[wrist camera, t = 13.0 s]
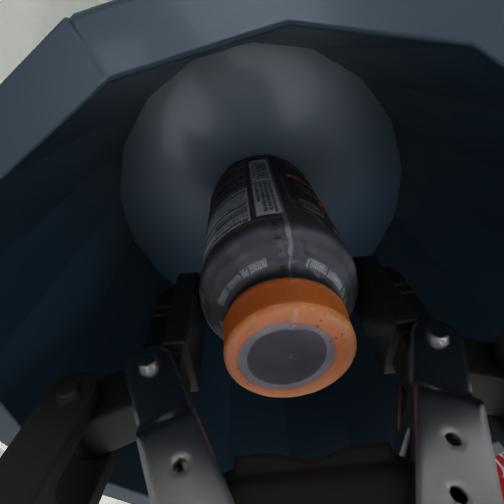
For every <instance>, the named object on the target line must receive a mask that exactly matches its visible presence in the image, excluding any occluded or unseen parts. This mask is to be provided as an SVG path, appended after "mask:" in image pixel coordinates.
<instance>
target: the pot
mask: <svg viewBox="0 0 504 504" xmlns="http://www.w3.org/2000/svg"><path fill="white" fill-rule="evenodd" d="M257 156H271V157H276V158H279V159H282V160H285V161H287V162H289V163H290V164H292V165H293V166H295V167H296V168H298V169H299V170H300V171H301V172H302V173H303V174H304V176H305V177H306V178H307V180H308V182H309V183H310V185H311V187H312V189H313V190H314V192H315V194H316V196H317V197H318V199H319V200H320V202H321V204H322V206H323V207H324V209H325V211H326V213H327V214H328V216H329V218H330V220H331V221H332V223H333V225H334V226H335V228H336V229H337V231H338V233H339V235H340V236H341V238H342V240H343V242H344V243H345V245H346V246H347V248H348V250H349V252H350V254H351V256H352V258H353V257H357V256H367V255H375V256H376V258H377V259H378V261H379V262H380V264H381V265H382V266H383V267H389V266H390V267H391V268H393V269H394V270H396V271H397V272H399V273H400V274H401V275H402V276H403V277H404V279H405V280H406V281H407V283H408V285H410V287H411V288H412V289H413V291H414V293H416V295H417V296H418V298H419V299H420V300H421V302H422V303H423V304H424V306H425V307H426V308H427V310H428V311H429V312H430V314H431V315H432V316H433V318H434V319H435V320H436V321H440V322H443V323H446V324H448V325H450V326H452V327H453V328H454V329H456V330H457V331H458V332H459V333H460V334H461V335H462V337H463V338H467V339H472V340H479V341H486V342H493V343H494V342H495V340H496V338H497V336H498V335H499V334H500V333H502V332H504V0H112V1H109V2H106V3H103V4H100V5H97V6H95V7H92V8H89V9H86V10H83V11H80V12H77V13H74V14H73V15H72V16H71V17H70V18H67V17H66V18H63V19H62V20H61V21H60V23H59V24H58V25H57V26H56V27H55V28H54V29H53V30H52V31H51V32H50V33H49V34H48V35H47V36H46V37H45V38H44V39H43V40H42V41H41V42H40V43H39V44H38V45H37V47H36V48H35V49H34V50H33V51H32V52H31V53H30V54H29V55H28V56H27V57H26V58H25V59H24V60H23V61H22V62H21V63H20V64H19V65H18V66H17V67H16V68H15V69H14V71H13V72H12V73H11V74H10V75H9V76H8V77H7V78H6V79H5V80H4V81H3V82H2V83H1V84H0V441H1V442H2V443H5V445H6V446H9V445H10V443H11V442H12V440H13V439H14V437H15V436H16V435H17V433H18V432H19V430H20V429H21V427H22V426H23V425H24V423H25V422H26V420H27V419H28V417H29V416H30V415H31V413H32V412H33V410H34V409H35V407H36V406H37V405H38V403H39V402H40V400H41V399H42V397H43V396H44V395H45V393H46V392H47V390H48V389H49V388H50V387H51V386H52V385H53V384H54V383H55V382H56V381H58V380H59V379H61V378H62V377H64V376H66V375H68V374H71V373H74V372H79V371H84V372H89V373H91V374H92V375H93V376H94V377H95V379H96V380H97V379H100V378H103V377H105V376H108V375H111V374H114V373H116V372H119V371H121V370H123V369H125V367H126V364H127V362H128V361H129V359H130V358H131V357H132V356H133V355H134V354H136V353H137V352H138V351H140V350H142V347H143V344H144V341H145V337H146V334H147V331H148V327H149V324H150V321H151V318H152V314H153V311H154V309H155V308H154V307H155V304H156V301H157V297H158V296H159V295H160V294H161V293H162V291H163V290H164V289H165V288H168V287H175V284H176V280H177V276H178V274H179V273H188V272H198V273H199V275H200V274H201V267H202V255H203V248H204V243H205V238H206V232H207V225H208V218H209V211H210V204H211V197H212V194H213V190H214V188H215V186H216V184H217V182H218V180H219V179H220V178H221V176H222V175H223V174H224V173H225V172H226V171H227V170H228V169H229V168H230V167H232V166H233V165H234V164H236V163H238V162H240V161H242V160H245V159H248V158H251V157H257ZM349 319H350V322H351V324H352V326H353V328H354V331H355V334H356V340H357V349H356V354H355V357H354V359H353V361H352V363H351V365H350V367H349V368H348V369H347V371H346V372H345V373H344V374H343V375H342V376H341V377H339V378H338V379H337V380H336V381H335V382H333V383H332V384H330V385H328V386H326V387H325V388H323V389H321V390H318V391H316V392H313V393H310V394H306V395H302V396H296V397H284V398H282V397H278V398H277V397H269V396H263V395H260V394H257V393H254V392H252V391H249V390H248V389H246V388H244V387H242V386H241V385H239V384H238V383H237V382H236V381H235V380H234V379H233V378H232V376H231V375H230V374H229V372H228V370H227V368H226V365H225V362H224V356H223V348H224V341H223V339H222V338H220V337H219V336H218V335H217V334H216V333H215V332H214V331H213V329H212V328H211V327H210V326H209V324H208V322H207V321H206V324H205V335H204V345H203V355H202V366H201V376H200V386H199V391H195V392H190V395H189V398H190V400H191V403H193V405H194V407H195V409H196V411H197V414H198V416H199V419H200V421H201V423H202V426H203V428H204V431H205V433H206V435H207V438H208V440H209V443H210V445H211V448H212V450H213V452H214V455H215V457H216V460H217V462H218V464H219V467H220V469H221V472H222V474H223V473H225V472H227V471H229V470H232V469H234V456H242V455H252V454H263V453H276V454H282V455H287V456H293V457H298V458H304V459H310V460H314V459H318V458H320V457H323V456H325V455H328V454H330V453H333V452H335V451H337V450H340V449H342V448H345V447H347V446H350V445H357V444H367V443H378V442H388V441H389V443H390V445H391V448H392V450H394V443H395V426H396V403H397V386H398V382H399V379H398V377H397V375H396V373H389V374H384V373H383V371H382V369H381V366H380V364H379V362H378V360H377V358H376V356H375V353H374V351H373V349H372V347H371V345H370V343H369V340H368V338H367V336H366V334H365V332H364V330H363V328H362V325H361V323H360V321H359V319H358V317H357V315H356V312H355V310H354V309H353V311H352V313H351V315H350V316H349ZM490 435H491V440H492V445H493V450H494V455H495V456H497V455H499V454H501V453H503V452H504V447H503V446H502V445H501V444H500V443H499V441H498V440H497V439H496V438H495V437H494V436H493V434H492V433H491V432H490ZM102 495H105V496H109V497H112V498H115V499H118V500H121V501H124V502H127V503H131V504H150V499H149V495H148V490H147V486H146V481H145V477H144V472H143V468H142V463H141V459H140V454H139V450H138V445H137V441H134V442H132V443H130V444H127V445H125V446H123V447H122V449H121V451H120V454H119V456H118V458H117V461H116V463H115V466H114V468H113V470H112V473H111V475H110V478H109V480H108V482H107V485H106V487H105V490H104V492H103V494H102Z"/></svg>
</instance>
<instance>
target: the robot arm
mask: <svg viewBox="0 0 504 504" xmlns="http://www.w3.org/2000/svg"><path fill="white" fill-rule="evenodd" d="M353 260H354V263H355V266H356V269H357V273H358V296H357V300H356V303H355V306H354V310H355V312H356V315H357V317H358V319H359V321H360V323H361V325H362V328H363V330H364V332H365V334H366V336H367V338H368V340H369V343H370V345H371V347H372V349H373V351H374V353H375V356H376V358H377V360H378V362H379V364H380V366H381V369H382V371H383V373H384V374H389V373H396V375H397V377H398V379H399V382H398V386H397V403H396V426H395V443H394V450H392V448H391V445H390V443H389V441H388V442H378V443H367V444H357V445H350V446H347V447H345V448H342V449H340V450H337V451H335V452H333V453H330V454H328V455H325V456H323V457H320V458H318V459H314V460H310V459H304V458H298V457H293V456H287V455H282V454H276V453H263V454H252V455H242V456H234V469H232V470H229V471H227V472H225V473H223V474H222V472H221V469H220V467H219V464H218V462H217V460H216V457H215V455H214V452H213V450H212V448H211V445H210V443H209V440H208V438H207V435H206V433H205V431H204V428H203V426H202V423H201V421H200V419H199V416H198V414H197V411H196V409H195V407H194V405H193V403H191V400H190V398H189V395H190V392H195V391H199V386H200V376H201V366H202V355H203V345H204V335H205V324H206V318H205V316H204V314H203V311H202V308H201V305H200V299H199V282H200V275H199V273H198V272H188V273H179V274H178V276H177V280H176V284H175V287H168V288H165V289H164V290H163V291H162V293H161V294H160V295H159V296H158V297H157V301H156V304H155V307H154V308H155V309H154V311H153V314H152V318H151V321H150V324H149V327H148V331H147V334H146V337H145V341H144V344H143V347H142V350H140V351H138V352H137V353H136V354H134V355H133V356H132V357H131V358H130V359H129V361H128V362H127V364H126V367H125V369H123V370H121V371H119V372H116V373H114V374H111V375H108V376H105V377H103V378H100V379H97V380H96V379H95V377H94V376H93V375H92V374H91V373H89V372H84V371H79V372H74V373H71V374H68V375H66V376H64V377H62V378H61V379H59V380H58V381H56V382H55V383H54V384H53V385H52V386H51V387H50V388H49V389H48V390H47V392H46V393H45V395H44V396H43V397H42V399H41V400H40V402H39V403H38V405H37V406H36V407H35V409H34V410H33V412H32V413H31V415H30V416H29V417H28V419H27V420H26V422H25V423H24V425H23V426H22V427H21V429H20V430H19V432H18V433H17V435H16V436H15V437H14V439H13V440H12V442H11V443H10V445H9V446H8V447H7V449H6V450H5V452H4V453H3V455H2V456H1V458H0V504H99V502H100V499H101V497H102V494H103V492H104V490H105V487H106V485H107V482H108V480H109V478H110V475H111V473H112V470H113V468H114V466H115V463H116V461H117V458H118V456H119V454H120V451H121V449H122V447H123V446H125V445H127V444H130V443H132V442H134V441H137V445H138V450H139V454H140V459H141V463H142V468H143V472H144V477H145V481H146V486H147V490H148V495H149V499H150V504H504V502H503V497H502V492H501V487H500V481H499V476H498V471H497V466H496V461H495V455H494V450H493V445H492V440H491V435H490V432H491V433H492V434H493V436H494V437H495V438H496V439H497V440H498V441H499V443H500V444H501V445H502V446H503V447H504V332H502V333H500V334H499V335H498V336H497V338H496V340H495V342H494V343H493V342H486V341H479V340H472V339H467V338H463V337H462V335H461V334H460V333H459V332H458V331H457V330H456V329H454V328H453V327H452V326H450V325H448V324H446V323H443V322H440V321H436V320H435V319H434V318H433V316H432V315H431V314H430V312H429V311H428V310H427V308H426V307H425V306H424V304H423V303H422V302H421V300H420V299H419V298H418V296H417V295H416V293H414V291H413V289H412V288H411V287H410V285H408V283H407V281H406V280H405V279H404V277H403V276H402V275H401V274H400V273H399V272H397V271H396V270H394V269H393V268H391V267H390V266H389V267H383V266H382V265H381V264H380V262H379V261H378V259H377V258H376V256H375V255H367V256H357V257H353Z"/></svg>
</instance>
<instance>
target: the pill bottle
mask: <svg viewBox="0 0 504 504" xmlns="http://www.w3.org/2000/svg"><path fill="white" fill-rule="evenodd" d="M357 296H358V273H357V269H356V266H355V263H354V260H353V258H352V256H351V254H350V252H349V250H348V248H347V246H346V245H345V243H344V242H343V240H342V238H341V236H340V235H339V233H338V231H337V229H336V228H335V226H334V225H333V223H332V221H331V220H330V218H329V216H328V214H327V213H326V211H325V209H324V207H323V206H322V204H321V202H320V200H319V199H318V197H317V196H316V194H315V192H314V190H313V189H312V187H311V185H310V183H309V182H308V180H307V178H306V177H305V176H304V174H303V173H302V172H301V171H300V170H299V169H298V168H296V167H295V166H293V165H292V164H290V163H289V162H287V161H285V160H282V159H279V158H276V157H271V156H257V157H251V158H248V159H245V160H242V161H240V162H238V163H236V164H234V165H233V166H232V167H230V168H229V169H228V170H227V171H226V172H225V173H224V174H223V175H222V176H221V178H220V179H219V180H218V182H217V184H216V186H215V188H214V190H213V194H212V197H211V204H210V211H209V218H208V225H207V232H206V238H205V243H204V248H203V255H202V267H201V274H200V282H199V299H200V305H201V308H202V311H203V314H204V316H205V318H206V321H207V322H208V324H209V326H210V327H211V328H212V329H213V331H214V332H215V333H216V334H217V335H218V336H219V337H220V338H222V339H223V341H224V348H223V356H224V362H225V365H226V368H227V370H228V372H229V374H230V375H231V376H232V378H233V379H234V380H235V381H236V382H237V383H238V384H239V385H241V386H242V387H244V388H246V389H248V390H249V391H252V392H254V393H257V394H260V395H263V396H269V397H277V398H278V397H282V398H284V397H296V396H302V395H306V394H310V393H313V392H316V391H318V390H321V389H323V388H325V387H326V386H328V385H330V384H332V383H333V382H335V381H336V380H337V379H338V378H339V377H341V376H342V375H343V374H344V373H345V372H346V371H347V369H348V368H349V367H350V365H351V363H352V361H353V359H354V357H355V354H356V349H357V340H356V334H355V331H354V328H353V326H352V324H351V322H350V319H349V316H350V315H351V313H352V311H353V309H354V306H355V303H356V300H357Z"/></svg>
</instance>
